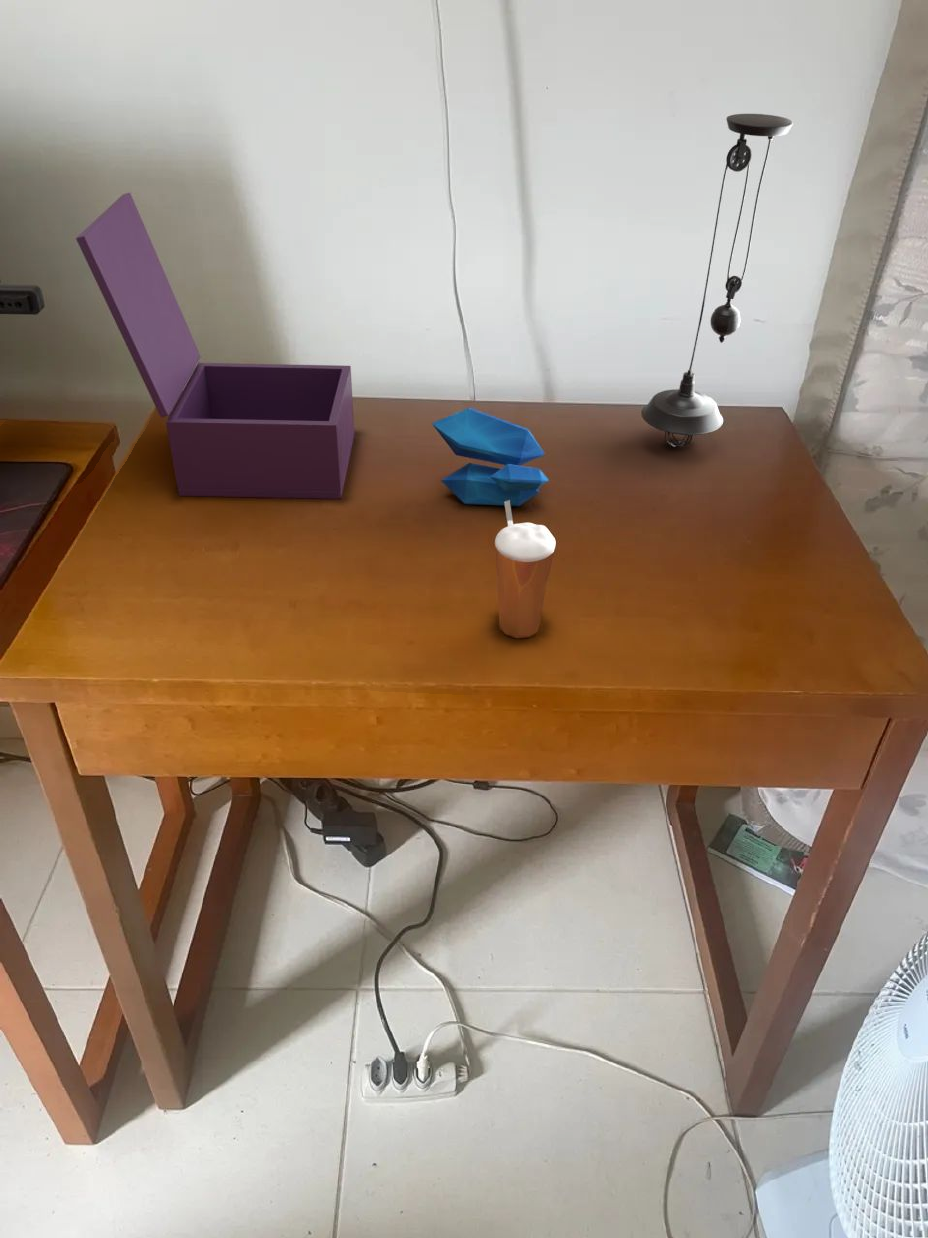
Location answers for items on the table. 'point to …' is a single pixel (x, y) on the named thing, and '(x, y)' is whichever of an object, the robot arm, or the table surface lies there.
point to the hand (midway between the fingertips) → (40, 299)
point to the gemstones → (491, 459)
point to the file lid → (141, 301)
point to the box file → (263, 431)
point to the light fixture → (684, 405)
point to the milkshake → (522, 575)
